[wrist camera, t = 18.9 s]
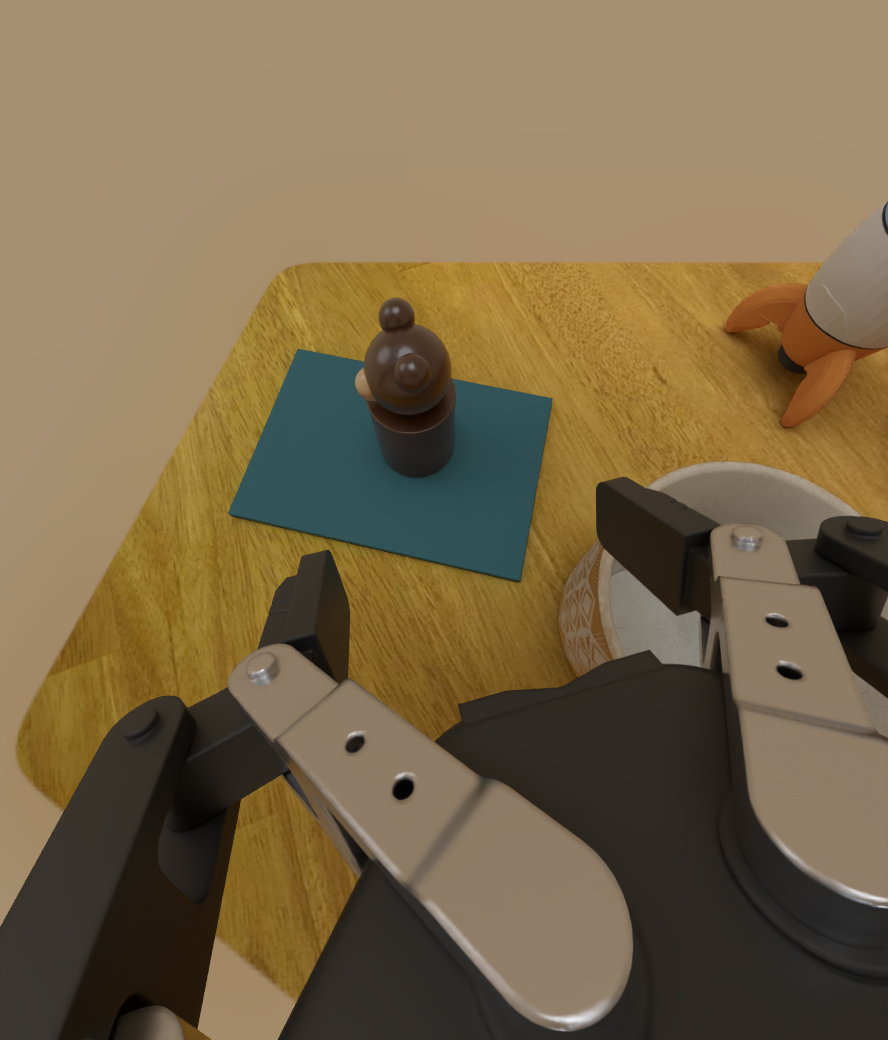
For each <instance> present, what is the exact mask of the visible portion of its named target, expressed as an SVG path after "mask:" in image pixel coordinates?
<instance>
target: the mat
mask: <svg viewBox="0 0 888 1040" xmlns="http://www.w3.org/2000/svg"><path fill="white" fill-rule="evenodd" d="M362 368H364V362H363V361H358V360H353V359H347V358H342V357H337V356H332V355H327V354H322V353H317V352H311V351H306V350H301V349H298V350H297V352H296V354H295V357H294V359H293V361H292V364H291V366H290V368H289V371H288V373H287V376H286V378H285V380H284V383H283V385H282V387H281V390H280V392H279V394H278V397H277V399H276V402H275V404H274V406H273V409H272V411H271V413H270V416H269V418H268V420H267V423H266V425H265V427H264V430H263V432H262V435H261V437H260V439H259V442H258V444H257V446H256V449H255V451H254V453H253V456H252V458H251V461H250V463H249V465H248V468H247V470H246V472H245V475H244V477H243V479H242V482H241V484H240V487H239V489H238V491H237V494H236V496H235V498H234V501H233V503H232V505H231V508H230V510H229V512H228V514H229V515H231V516H234V517H238V518H242V519H247V520H251V521H256V522H260V523H264V524H269V525H273V526H277V527H282V528H286V529H290V530H295V531H299V532H303V533H308V534H312V535H316V536H321V537H325V538H329V539H334V540H338V541H342V542H347V543H351V544H356V545H360V546H364V547H369V548H373V549H377V550H382V551H386V552H390V553H395V554H399V555H403V556H408V557H412V558H416V559H421V560H425V561H429V562H434V563H438V564H442V565H447V566H451V567H456V568H460V569H464V570H469V571H473V572H477V573H482V574H486V575H490V576H495V577H499V578H503V579H508V580H512V581H516V582H519V581H520V579H521V574H522V568H523V562H524V557H525V551H526V545H527V540H528V534H529V529H530V523H531V517H532V512H533V506H534V500H535V495H536V489H537V484H538V478H539V472H540V467H541V461H542V455H543V450H544V444H545V438H546V433H547V427H548V422H549V416H550V410H551V405H552V398H548V397H542V396H537V395H532V394H527V393H522V392H517V391H512V390H507V389H501V388H496V387H491V386H486V385H481V384H476V383H471V382H465V381H460V380H455V379H452V380H453V383H454V385H455V389H456V408H455V433H454V450H453V454H452V456H451V458H450V460H449V462H448V463H447V464H446V465H445V466H444V467H443V468H442V469H441V470H440V471H438V472H436V473H435V474H432V475H430V476H426V477H420V478H414V477H407V476H404V475H401V474H399V473H397V472H396V471H394V470H393V469H392V468H390V466H389V465H388V464H387V463H386V461H385V460H384V458H383V455H382V452H381V449H380V445H379V442H378V439H377V436H376V432H375V429H374V426H373V423H372V420H371V416H370V413H369V410H368V407H367V402H366V400H365V399H364V398H362V397H361V396H360V395H359V393H358V392H357V390H356V387H355V379H356V376H357V374H358V372H359V371H360V370H361V369H362Z"/></svg>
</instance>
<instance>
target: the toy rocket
mask: <svg viewBox="0 0 888 1040" xmlns="http://www.w3.org/2000/svg"><path fill="white" fill-rule="evenodd" d="M770 322H774V323H775V324H776V325H777V327H778V330H779V331H781V332H783V333H782V344H783V345H782V346H781V347H780V349H779V351H778V359H779V361H780V363H781V364H782V365H783V366H784V367H785V368H786V369H787V370H789V371H791V372H793V373H797V374H807V377H806V378H805V379H804V380H803V381H802V382H801V384H800V385H799V387H798V388H797V391H796V393H795V395H794V397H793V399H792V401H791V403H790V405H789V406H788V408H787V410H786V412H785V414H784V416H783V418H782V419H781V423H782V425H783V426H784V427H786V428H787V427H793V426H797V425H799V424H800V423H802V422H804V421H806V420H808V419H809V418H811V417H812V416H813V415H815V414H816V413H817V412H819V411H820V410H821V409H822V408H823V407H824V406H825V405H826V404H827V403H828V402H829V401H830V399H831V398H832V397H833V396H834V395H835V393H836V392H837V391H838V389H839V388H840V386H841V385H842V383H843V382H844V380H845V378H846V376H847V375H848V373H849V371H850V368H851V366H852V364H853V361H855V360H858V359H860V358H863V357H865V356H868V355H870V354H873V353H875V352H878V351H880V350H883V349H885V348H887V347H888V201H887V202H886V203H884V204H883V205H882V206H881V207H880V208H878V209H877V210H876V211H875V212H874V213H872V214H871V215H870V216H869V217H868V218H867V219H866V220H864V221H863V222H862V223H861V224H860V225H859V226H858V227H857V228H856V229H855V230H854V231H853V232H852V233H851V234H850V235H849V236H848V237H847V238H846V239H845V240H844V241H843V242H842V243H841V244H840V245H839V246H838V247H837V248H836V250H834V252H833V253H832V254H831V255H830V256H829V257H828V259H827V260H826V261H825V262H824V264H823V265H822V266H821V267H820V269H819V270H818V271H817V273H816V274H815V275H814V277H813V278H812V280H811V281H810V283H809V284H808V285H804V284H792V283H787V284H778V285H773V286H770V287H766V288H763V289H761V290H759V291H757V292H755V293H753V294H751V295H750V296H748V297H747V298H745V299H744V300H743V301H742V302H741V303H740V304H739V305H738V306H737V307H736V308H735V309H734V311H733V312H732V314H731V315H730V317H729V318H728V321H727V324H726V328H725V330H726V331H727V332H729V333H732V332H738V331H743V330H749V329H755V328H761V327H763V326H766V325H767V324H769V323H770Z"/></svg>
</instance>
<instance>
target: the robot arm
mask: <svg viewBox="0 0 888 1040" xmlns="http://www.w3.org/2000/svg"><path fill="white" fill-rule="evenodd" d="M596 528H597V535H598V539H599V541H600V543H601V545H602V547H603V548H604V549H605V550H606V551H607V552H608V553H609V554H610V555H611V556H612V557H614V558H615V559H616V560H617V561H618V562H619V563H620V564H621V565H622V566H623V567H624V568H625V569H626V570H628V571H629V572H630V573H631V574H632V575H633V576H634V577H635V578H636V579H637V580H638V581H639V582H640V583H642V584H643V585H644V586H645V587H646V588H647V589H648V590H649V591H650V592H651V593H652V594H653V595H654V596H656V597H657V598H658V599H659V600H660V601H661V602H662V603H663V604H664V605H665V606H666V607H667V608H668V609H670V610H671V611H672V612H673V613H674V614H675V615H676V616H679V615H683V614H686V613H690V612H693V611H698V612H699V613H700V618H699V654H700V667H697V666H691V665H683V664H662V663H661V662H660V661H659V659H658V658H657V657H656V656H655V655H654V654H653V653H652V652H651V650H646V651H643V652H639V653H636V654H632V655H629V656H625V657H622V658H619V659H615V660H612V661H608V662H605V663H603V664H601V665H599V666H597V667H596V668H594V669H592V670H591V671H589V672H587V673H585V674H584V675H582V676H580V677H579V678H577V679H575V680H574V681H572V682H570V683H568V684H567V685H565V686H562V687H558V688H543V689H526V690H510V691H504V692H500V693H497V694H493V695H490V696H486V697H483V698H479V699H476V700H472V701H469V702H465V703H462V704H458V707H459V711H460V715H461V719H462V721H461V722H459V723H457V724H456V725H454V726H452V727H451V728H450V729H448V730H447V731H446V732H444V733H443V734H442V735H441V736H440V737H439V738H438V739H437V740H435V741H433V740H431V739H430V738H429V737H427V736H426V735H425V734H423V733H422V732H421V731H420V730H418V729H417V728H416V727H414V726H413V725H412V724H410V723H409V722H408V721H406V720H405V719H404V718H402V717H401V716H400V715H399V714H397V713H396V712H395V711H393V710H392V709H391V708H389V707H388V706H387V705H385V704H384V703H383V702H381V701H380V700H379V699H378V698H376V697H375V696H374V695H372V694H371V693H370V692H368V691H367V690H366V689H364V688H363V687H362V686H360V685H359V684H358V683H356V682H355V681H354V680H352V679H349V678H348V664H349V632H350V609H349V603H348V599H347V595H346V592H345V589H344V587H343V584H342V581H341V578H340V575H339V573H338V570H337V567H336V564H335V562H334V559H333V556H332V554H331V552H330V551H329V550H325V551H321V552H317V553H313V554H309V555H305V556H302V557H301V561H300V565H299V569H298V573H297V575H296V576H292V577H288V578H286V579H285V580H284V582H283V583H282V584H281V585H280V586H279V587H278V589H277V590H276V591H275V595H274V598H273V601H272V606H271V608H270V611H269V616H268V617H267V621H266V624H265V627H264V630H263V633H262V637H261V640H260V643H259V646H258V650H256V651H254V652H253V653H251V654H249V655H248V656H247V657H245V658H244V659H243V660H242V661H241V662H240V663H239V664H238V665H237V666H236V667H235V668H234V670H233V671H232V673H231V674H230V676H229V679H228V687H227V688H226V689H224V690H222V691H220V692H218V693H216V694H214V695H212V696H210V697H208V698H206V699H204V700H203V701H201V702H199V703H197V704H195V705H193V706H191V707H189V708H187V707H186V706H185V704H184V703H183V701H182V700H181V699H180V698H178V697H176V696H162V697H159V698H155V699H153V700H150V701H148V702H146V703H144V704H142V705H140V706H138V707H137V708H135V709H134V710H132V711H131V712H129V713H128V714H127V715H125V716H124V717H123V718H122V719H121V720H119V721H118V722H117V723H116V724H115V725H114V726H113V727H112V729H111V730H110V731H109V732H108V734H107V735H106V737H105V738H104V740H103V742H102V743H101V745H100V747H99V749H98V751H97V752H96V754H95V756H94V758H93V760H92V761H91V763H90V765H89V767H88V769H87V771H86V772H85V774H84V776H83V778H82V780H81V781H80V783H79V785H78V787H77V789H76V790H75V792H74V794H73V796H72V798H71V800H70V801H69V803H68V805H67V807H66V809H65V810H64V812H63V814H62V816H61V818H60V820H59V821H58V823H57V825H56V827H55V829H54V830H53V832H52V834H51V836H50V838H49V839H48V841H47V843H46V845H45V847H44V849H43V850H42V852H41V854H40V856H39V858H38V859H37V861H36V863H35V865H34V867H33V868H32V870H31V872H30V874H29V876H28V878H27V879H26V881H25V883H24V885H23V887H22V889H21V890H20V892H19V894H18V896H17V898H16V899H15V901H14V903H13V905H12V907H11V908H10V910H9V912H8V914H7V916H6V918H5V919H4V921H3V923H2V925H1V926H0V1040H211V1039H210V1038H209V1037H207V1036H206V1035H204V1034H203V1033H201V1032H200V1031H199V1030H197V1029H198V1023H199V1018H200V1013H201V1007H202V1002H203V997H204V992H205V987H206V981H207V975H208V971H209V965H210V960H211V955H212V950H213V944H214V939H215V934H216V929H217V923H218V918H219V913H220V908H221V902H222V897H223V892H224V887H225V881H226V876H227V871H228V866H229V860H230V855H231V850H232V845H233V839H234V834H235V829H236V824H237V818H238V813H239V808H240V803H241V799H242V798H244V797H245V796H247V795H249V794H250V793H252V792H254V791H255V790H257V789H258V788H260V787H262V786H263V785H265V784H267V783H268V782H270V781H272V780H273V779H275V778H277V777H278V776H280V775H281V777H282V778H283V779H284V781H285V782H286V783H287V785H288V786H289V787H290V788H291V790H292V791H293V792H294V793H295V795H296V796H297V797H298V798H299V800H300V801H301V802H302V804H303V805H304V806H305V807H306V809H307V810H308V811H309V812H310V814H311V815H312V816H313V818H314V819H315V820H316V821H317V823H318V824H319V825H320V826H321V828H322V829H323V830H324V832H325V833H326V834H327V836H328V837H329V838H330V840H331V841H332V843H333V844H334V846H335V847H336V849H337V850H338V852H339V853H340V855H341V856H342V857H343V859H344V860H345V862H346V863H347V864H348V866H349V867H350V868H351V870H352V871H353V872H354V874H355V875H356V876H357V878H358V881H357V883H356V885H355V887H354V889H353V891H352V893H351V895H350V897H349V899H348V901H347V903H346V905H345V907H344V909H343V911H342V913H341V915H340V917H339V919H338V921H337V923H336V925H335V927H334V929H333V931H332V933H331V935H330V937H329V939H328V941H327V943H326V945H325V947H324V949H323V951H322V953H321V955H320V957H319V959H318V961H317V963H316V965H315V967H314V969H313V971H312V973H311V975H310V977H309V979H308V981H307V983H306V985H305V987H304V989H303V991H302V993H301V995H300V997H299V998H298V1000H297V1002H296V1004H295V1006H294V1008H293V1010H292V1012H291V1014H290V1017H289V1018H288V1020H287V1022H286V1024H285V1026H284V1028H283V1030H282V1032H281V1034H280V1036H279V1038H278V1040H888V737H886V736H884V735H881V734H879V733H878V731H877V730H876V729H875V727H874V725H873V723H872V721H871V718H870V716H869V713H868V710H867V708H866V705H865V703H864V700H863V698H862V695H861V693H860V690H859V688H858V685H857V683H856V680H855V678H854V675H853V673H852V672H854V673H855V674H856V675H857V676H859V677H860V678H861V679H863V680H864V681H865V682H867V683H868V684H869V685H871V686H872V687H873V688H874V689H876V690H877V691H878V692H880V693H881V694H882V695H884V696H885V697H886V698H888V620H886V619H885V618H883V617H882V616H881V613H882V611H883V608H884V606H885V603H886V601H887V598H888V522H886V521H882V520H878V519H874V518H868V517H861V516H836V517H831V518H828V519H826V520H824V521H823V522H821V524H820V527H819V531H818V535H817V539H801V540H784V538H783V537H782V536H781V535H780V534H778V533H777V532H775V531H773V530H771V529H768V528H765V527H762V526H758V525H753V524H744V523H734V524H726V525H720V524H719V523H717V522H715V521H713V520H711V519H710V518H708V517H706V516H704V515H703V514H701V513H699V512H697V511H695V510H694V509H692V508H688V506H687V505H685V504H683V503H681V502H677V500H676V499H674V498H672V497H671V496H669V495H667V494H665V493H663V492H659V491H656V490H652V489H648V488H644V487H643V486H641V485H639V484H637V483H636V482H634V481H632V480H631V479H629V478H627V477H621V478H617V479H613V480H609V481H605V482H601V483H599V484H598V485H597V488H596Z"/></svg>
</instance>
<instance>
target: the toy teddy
mask: <svg viewBox="0 0 888 1040" xmlns="http://www.w3.org/2000/svg"><path fill="white" fill-rule="evenodd" d="M379 323H380V326H381V328H382V330H383V331H381V332H380V333H379V334H378V335H377V336H376V337H375V338H374V339H373V340H372V342H371V343H370V345H369V347H368V349H367V352H366V355H365V360H364V368H362V369H361V370H360V371H359V372H358V374H357V376H356V379H355V387H356V390H357V392H358V393H359V395H360V396H361V397H362V398H364V399H365V400H366V402H367V407H368V410H369V413H370V416H371V420H372V423H373V426H374V429H375V432H376V436H377V439H378V442H379V445H380V449H381V452H382V455H383V458H384V460H385V461H386V463H387V464H388V465H389V466H390V468H392V469H393V470H394V471H396V472H397V473H399V474H401V475H404V476H407V477H414V478H420V477H426V476H430V475H432V474H435V473H436V472H438V471H440V470H441V469H442V468H443V467H444V466H445V465H446V464H447V463H448V462H449V460H450V458H451V456H452V454H453V450H454V433H455V408H456V389H455V385H454V383H453V380H452V378H451V362H450V358H449V354H448V352H447V350H446V348H445V346H444V344H443V343H442V341H441V340H440V339H439V338H438V336H436V335H435V334H434V333H433V332H432V331H430V330H429V329H427V328H425V327H423V326H421V325H417V324H414V323H415V315H414V311H413V309H412V307H411V306H410V304H409V303H408V302H406V301H405V300H403V299H400V298H392V299H389V300H387V301H386V302H385V303H384V304H383V305H382V306H381V308H380V311H379Z"/></svg>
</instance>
